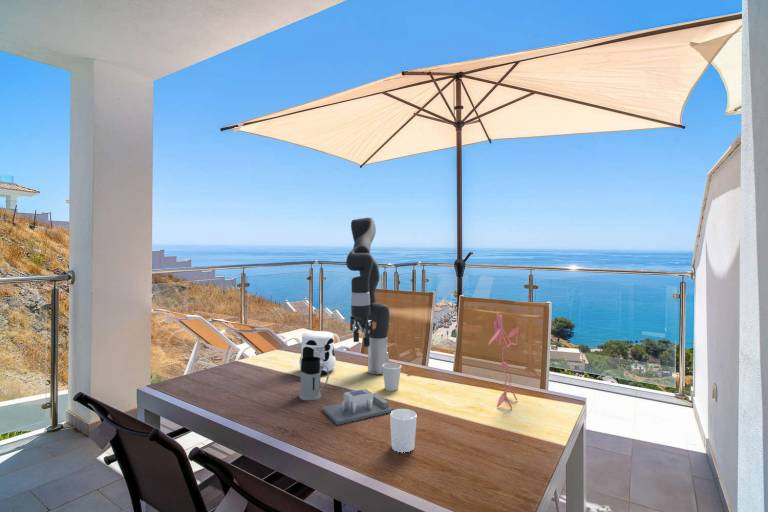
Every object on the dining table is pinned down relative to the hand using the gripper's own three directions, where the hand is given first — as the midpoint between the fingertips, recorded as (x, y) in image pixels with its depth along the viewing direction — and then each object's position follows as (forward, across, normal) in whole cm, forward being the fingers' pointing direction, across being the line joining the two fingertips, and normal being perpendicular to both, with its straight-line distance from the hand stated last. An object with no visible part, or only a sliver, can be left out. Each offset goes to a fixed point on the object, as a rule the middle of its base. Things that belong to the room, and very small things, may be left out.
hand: (361, 344), depth 152 cm
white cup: (+21, -40, +8) cm, 46 cm away
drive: (+20, -10, +8) cm, 24 cm away
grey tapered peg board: (+21, -10, +8) cm, 25 cm away
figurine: (+23, -30, -44) cm, 58 cm away
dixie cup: (+23, +3, -16) cm, 28 cm away
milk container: (+22, +41, +2) cm, 47 cm away
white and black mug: (+22, +10, +16) cm, 29 cm away
